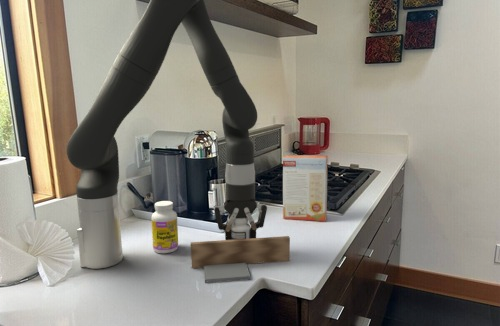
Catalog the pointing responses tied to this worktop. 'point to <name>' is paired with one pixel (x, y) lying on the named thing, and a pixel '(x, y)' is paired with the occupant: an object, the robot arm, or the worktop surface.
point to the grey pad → (226, 272)
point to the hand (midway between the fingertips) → (240, 243)
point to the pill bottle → (240, 229)
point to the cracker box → (305, 187)
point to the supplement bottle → (164, 228)
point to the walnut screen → (240, 251)
